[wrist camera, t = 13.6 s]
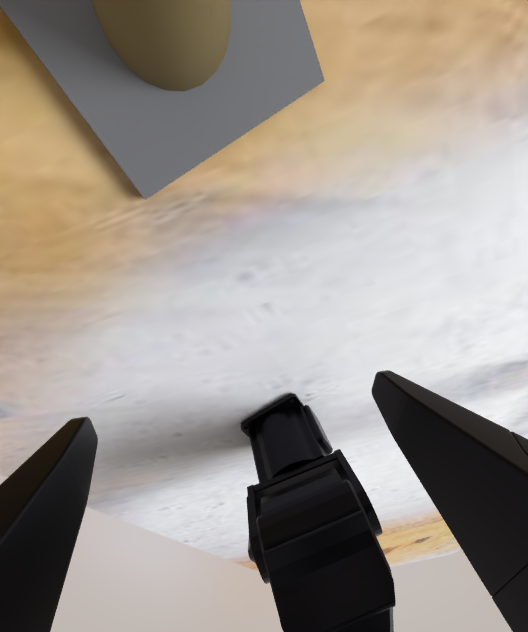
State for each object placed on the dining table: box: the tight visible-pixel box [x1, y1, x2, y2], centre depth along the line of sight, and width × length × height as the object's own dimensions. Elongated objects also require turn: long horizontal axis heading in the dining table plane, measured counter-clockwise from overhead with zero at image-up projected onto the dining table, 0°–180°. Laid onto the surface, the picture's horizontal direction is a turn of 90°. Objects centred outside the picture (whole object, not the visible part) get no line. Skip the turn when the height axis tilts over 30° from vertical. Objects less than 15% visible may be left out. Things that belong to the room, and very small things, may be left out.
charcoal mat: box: [0, 0, 325, 200], centre depth 13 cm, size 12×12×1 cm
